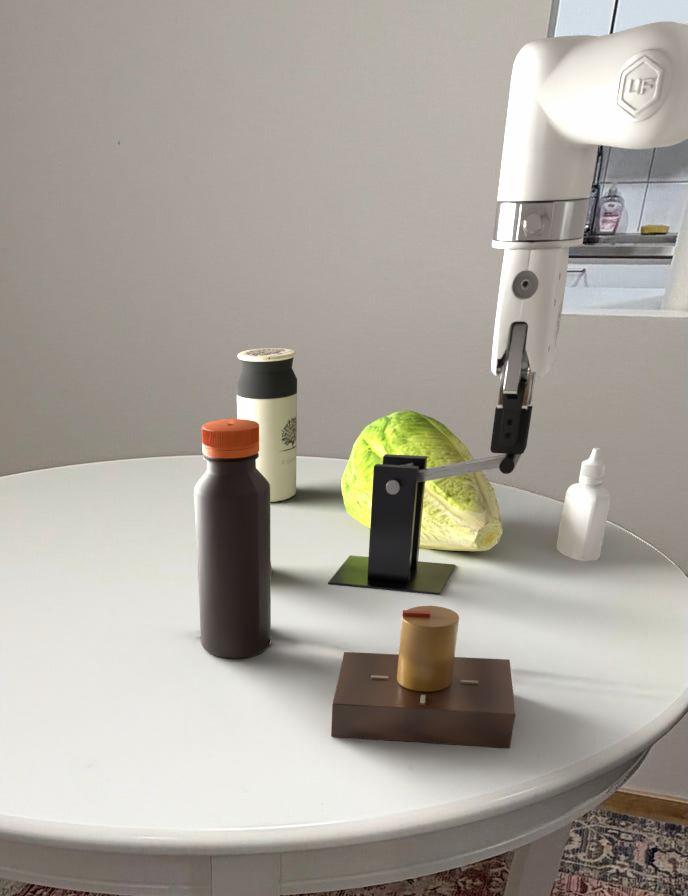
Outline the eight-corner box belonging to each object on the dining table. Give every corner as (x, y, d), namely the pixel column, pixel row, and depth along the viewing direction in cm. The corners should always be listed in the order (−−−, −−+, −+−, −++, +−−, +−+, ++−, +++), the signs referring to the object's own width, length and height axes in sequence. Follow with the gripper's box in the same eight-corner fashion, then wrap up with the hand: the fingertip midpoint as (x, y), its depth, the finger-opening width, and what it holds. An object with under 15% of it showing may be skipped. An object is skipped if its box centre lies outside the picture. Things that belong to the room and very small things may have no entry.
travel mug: (227, 496, 134) (223, 354, 124) (267, 484, 138) (266, 345, 128) (268, 507, 129) (267, 359, 119) (307, 494, 133) (310, 350, 123)
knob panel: (505, 691, 82) (510, 657, 80) (510, 748, 74) (515, 712, 73) (342, 682, 85) (344, 649, 83) (330, 736, 77) (332, 701, 75)
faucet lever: (522, 464, 95) (520, 439, 94) (515, 477, 91) (513, 451, 90) (393, 487, 101) (389, 463, 100) (382, 500, 97) (378, 476, 96)
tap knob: (451, 669, 79) (459, 602, 76) (451, 693, 76) (459, 624, 72) (398, 667, 80) (403, 600, 77) (395, 690, 77) (400, 622, 73)
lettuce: (410, 593, 104) (455, 467, 96) (315, 506, 121) (346, 391, 112) (517, 597, 110) (568, 478, 102) (413, 513, 127) (449, 405, 118)
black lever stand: (454, 575, 106) (468, 453, 98) (439, 604, 99) (452, 476, 91) (349, 565, 109) (354, 447, 102) (327, 593, 103) (331, 469, 95)
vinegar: (191, 639, 94) (179, 422, 83) (253, 626, 96) (250, 412, 84) (217, 665, 89) (208, 437, 77) (282, 651, 91) (283, 427, 79)
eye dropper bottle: (556, 568, 106) (576, 454, 99) (554, 552, 110) (573, 441, 103) (598, 570, 105) (621, 455, 98) (594, 553, 109) (616, 442, 102)
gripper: (577, 231, 75) (539, 474, 86) (591, 219, 86) (556, 435, 97) (480, 233, 77) (455, 469, 88) (506, 221, 88) (480, 432, 99)
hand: (507, 451), depth 92 cm, fingers closed
